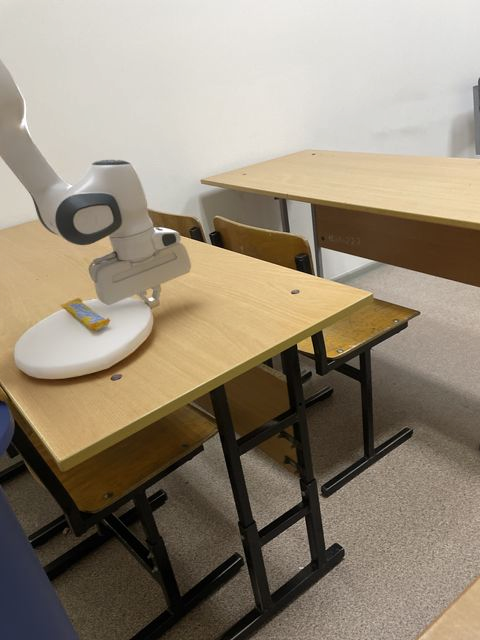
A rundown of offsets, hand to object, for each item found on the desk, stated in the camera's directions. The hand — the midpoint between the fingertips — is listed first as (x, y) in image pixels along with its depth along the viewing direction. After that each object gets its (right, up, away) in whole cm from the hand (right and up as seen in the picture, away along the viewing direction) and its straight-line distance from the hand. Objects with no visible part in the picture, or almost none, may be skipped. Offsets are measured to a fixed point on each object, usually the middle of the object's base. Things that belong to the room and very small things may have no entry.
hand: (153, 307), depth 111 cm
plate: (-11, -9, -5) cm, 15 cm away
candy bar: (-11, -3, -8) cm, 14 cm away
